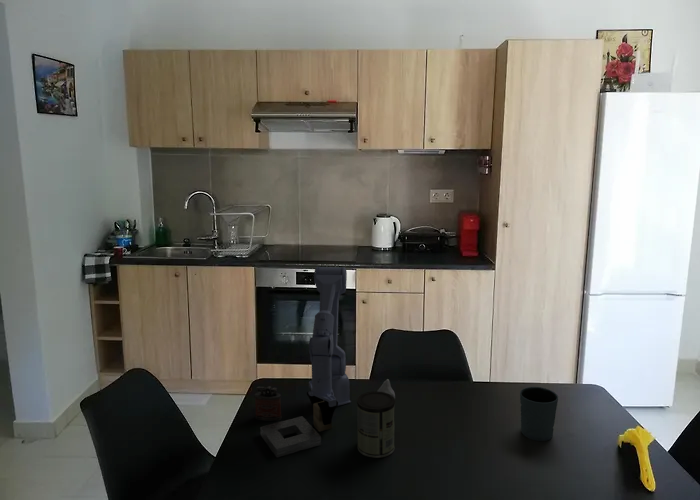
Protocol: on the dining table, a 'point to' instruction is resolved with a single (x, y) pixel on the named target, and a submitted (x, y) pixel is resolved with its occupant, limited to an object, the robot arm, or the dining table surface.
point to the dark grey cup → (538, 412)
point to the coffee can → (376, 424)
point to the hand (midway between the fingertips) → (322, 419)
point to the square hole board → (286, 446)
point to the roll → (386, 388)
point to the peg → (319, 419)
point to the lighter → (268, 404)
